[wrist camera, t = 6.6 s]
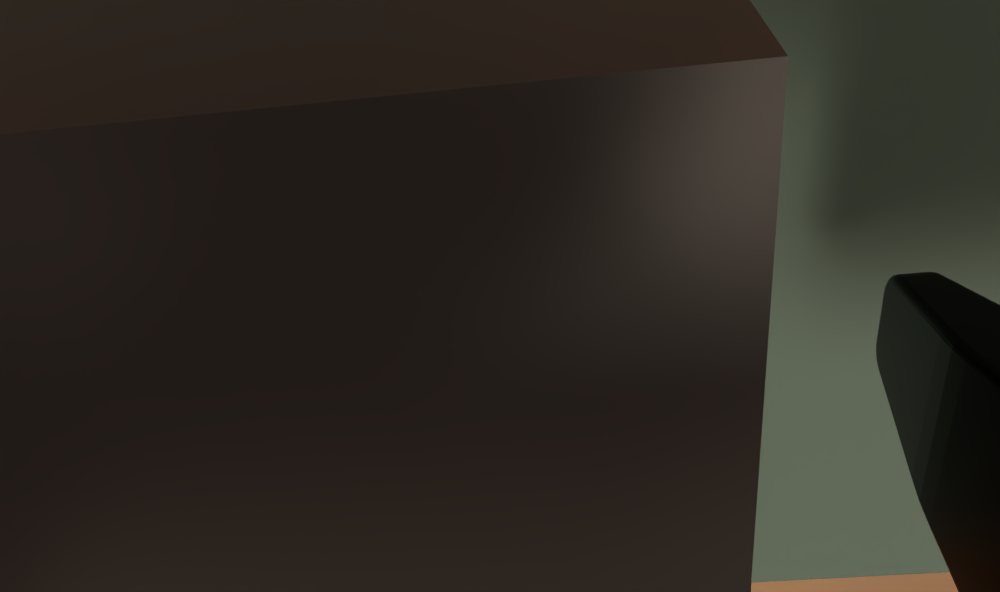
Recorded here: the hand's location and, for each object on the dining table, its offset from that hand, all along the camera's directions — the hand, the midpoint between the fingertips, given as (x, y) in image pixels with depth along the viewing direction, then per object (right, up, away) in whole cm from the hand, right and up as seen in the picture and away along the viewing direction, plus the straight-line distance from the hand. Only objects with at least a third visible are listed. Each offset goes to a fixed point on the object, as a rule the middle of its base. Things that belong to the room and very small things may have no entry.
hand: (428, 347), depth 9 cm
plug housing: (0, +1, +1) cm, 2 cm away
